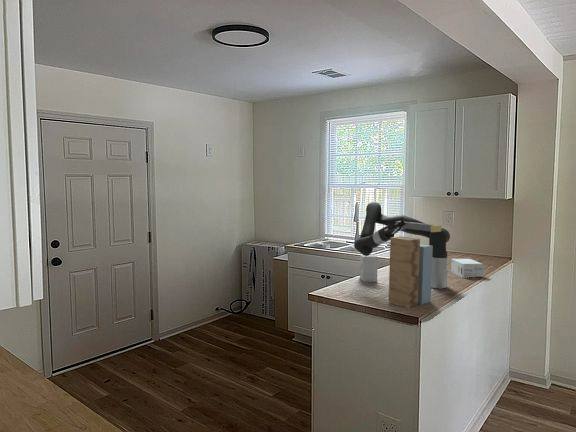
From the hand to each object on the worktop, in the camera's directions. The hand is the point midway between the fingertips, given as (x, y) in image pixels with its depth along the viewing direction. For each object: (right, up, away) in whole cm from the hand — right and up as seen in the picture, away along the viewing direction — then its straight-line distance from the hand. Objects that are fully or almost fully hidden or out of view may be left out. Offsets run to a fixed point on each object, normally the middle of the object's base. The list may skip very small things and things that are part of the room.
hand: (406, 222), depth 219 cm
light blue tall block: (+4, -39, -3) cm, 39 cm away
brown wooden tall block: (-4, -40, -9) cm, 41 cm away
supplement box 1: (-12, -36, +41) cm, 56 cm away
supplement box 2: (+54, -35, +58) cm, 87 cm away
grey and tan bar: (+3, -3, -4) cm, 6 cm away
